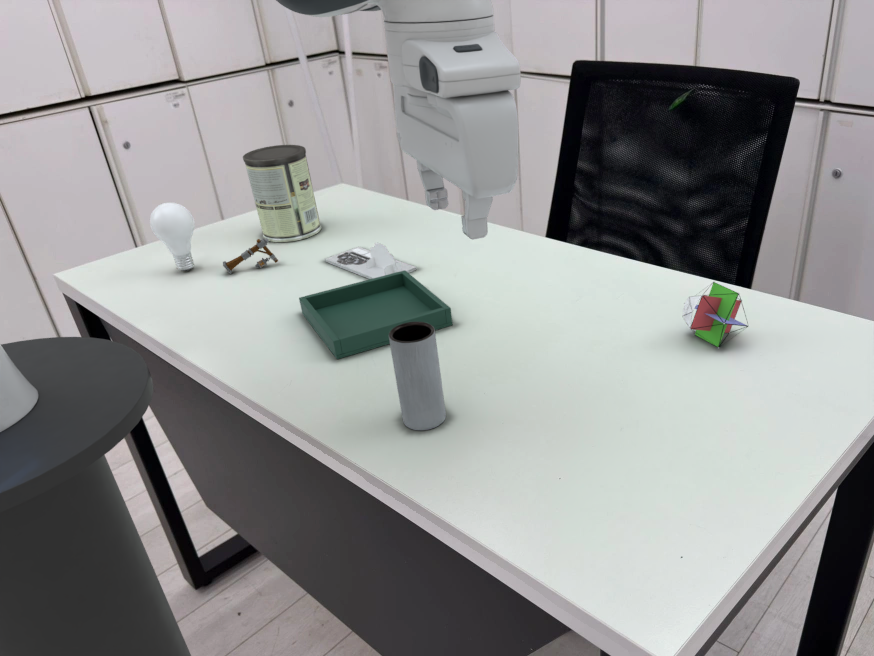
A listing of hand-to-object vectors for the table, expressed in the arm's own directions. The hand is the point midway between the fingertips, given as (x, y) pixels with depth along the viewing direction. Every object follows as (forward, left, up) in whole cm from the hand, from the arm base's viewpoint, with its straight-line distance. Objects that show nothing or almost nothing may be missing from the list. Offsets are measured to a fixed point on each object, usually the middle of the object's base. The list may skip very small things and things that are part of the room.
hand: (455, 221), depth 68 cm
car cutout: (+5, +47, -21) cm, 52 cm away
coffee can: (-1, +71, -21) cm, 74 cm away
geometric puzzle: (+31, -2, -21) cm, 37 cm away
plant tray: (-1, +28, -21) cm, 35 cm away
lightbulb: (-20, +64, -21) cm, 70 cm away
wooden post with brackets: (-11, +58, -21) cm, 62 cm away
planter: (-5, +2, -21) cm, 22 cm away
